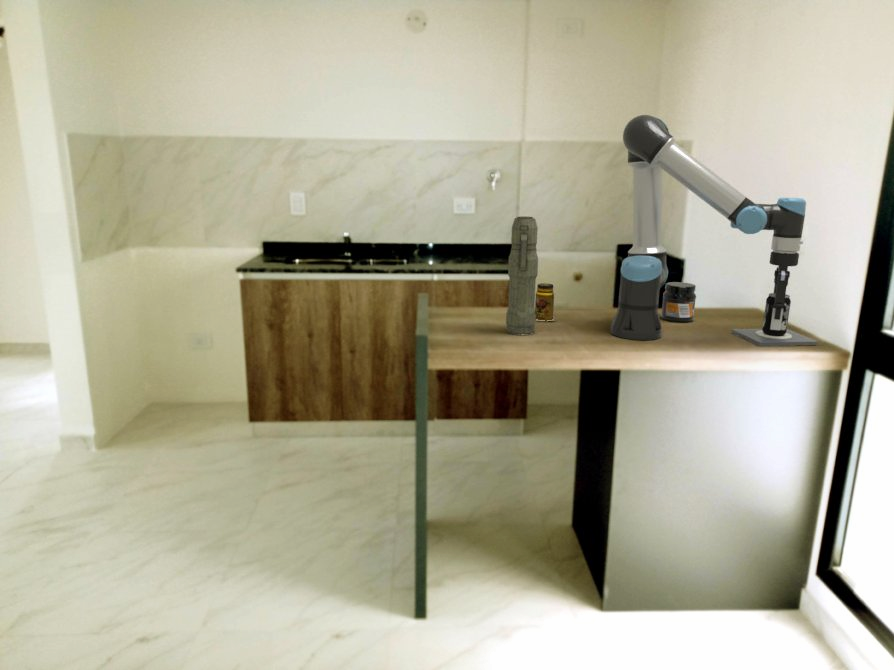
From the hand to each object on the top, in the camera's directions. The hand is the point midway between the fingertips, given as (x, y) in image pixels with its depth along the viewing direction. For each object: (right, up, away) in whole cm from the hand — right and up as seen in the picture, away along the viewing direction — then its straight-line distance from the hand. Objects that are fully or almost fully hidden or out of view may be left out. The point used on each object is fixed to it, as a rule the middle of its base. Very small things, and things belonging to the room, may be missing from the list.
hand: (774, 326), depth 204 cm
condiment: (-66, +2, +23) cm, 70 cm away
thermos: (-76, -2, +5) cm, 76 cm away
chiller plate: (0, -4, +1) cm, 4 cm away
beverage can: (0, -3, +1) cm, 3 cm away
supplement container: (-21, +2, +25) cm, 33 cm away
